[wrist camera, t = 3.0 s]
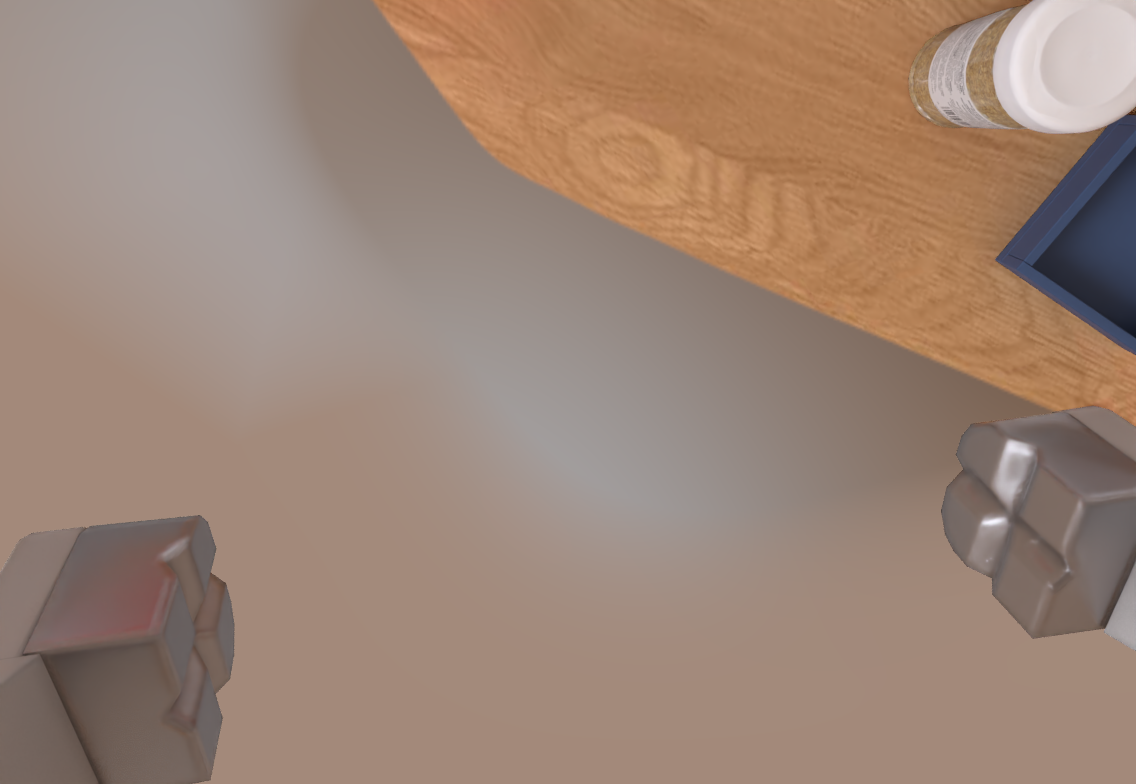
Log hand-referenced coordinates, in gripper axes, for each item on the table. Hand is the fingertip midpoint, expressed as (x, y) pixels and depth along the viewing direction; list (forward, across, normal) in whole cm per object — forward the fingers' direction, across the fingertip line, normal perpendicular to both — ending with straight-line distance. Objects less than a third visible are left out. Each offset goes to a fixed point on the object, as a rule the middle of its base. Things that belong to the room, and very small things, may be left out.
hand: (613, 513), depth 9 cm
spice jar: (+29, -24, +1) cm, 38 cm away
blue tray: (+25, -32, +8) cm, 41 cm away
